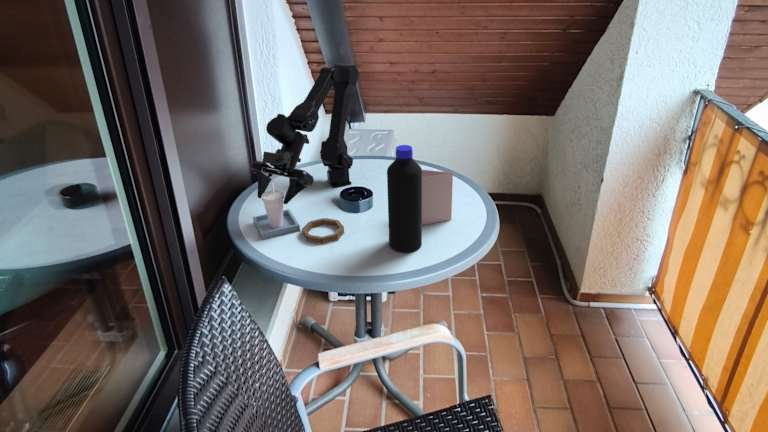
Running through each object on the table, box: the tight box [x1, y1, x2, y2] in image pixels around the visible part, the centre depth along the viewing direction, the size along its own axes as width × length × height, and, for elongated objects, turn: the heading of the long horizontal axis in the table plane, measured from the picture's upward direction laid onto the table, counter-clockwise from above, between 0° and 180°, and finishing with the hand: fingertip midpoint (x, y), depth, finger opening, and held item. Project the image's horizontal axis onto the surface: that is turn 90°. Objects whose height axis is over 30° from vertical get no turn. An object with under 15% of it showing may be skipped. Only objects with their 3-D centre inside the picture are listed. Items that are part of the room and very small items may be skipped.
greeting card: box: [422, 169, 454, 226], centre depth 154 cm, size 11×7×15 cm, turn 72°
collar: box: [301, 217, 345, 245], centre depth 153 cm, size 11×11×2 cm
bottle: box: [386, 144, 423, 254], centre depth 140 cm, size 9×9×28 cm
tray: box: [252, 208, 301, 241], centre depth 157 cm, size 11×11×2 cm
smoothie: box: [261, 179, 285, 228], centre depth 154 cm, size 6×6×14 cm
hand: (271, 200), depth 153 cm, fingers open, 9 cm apart
